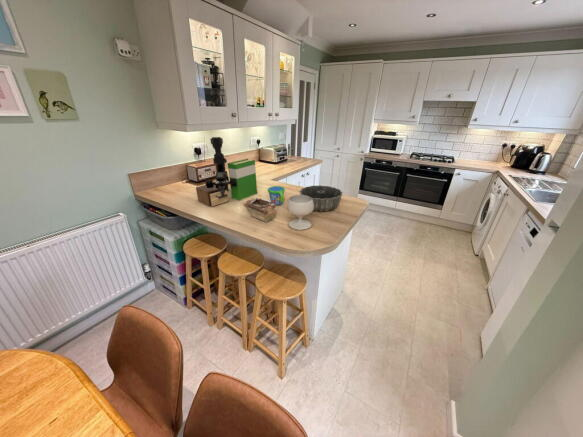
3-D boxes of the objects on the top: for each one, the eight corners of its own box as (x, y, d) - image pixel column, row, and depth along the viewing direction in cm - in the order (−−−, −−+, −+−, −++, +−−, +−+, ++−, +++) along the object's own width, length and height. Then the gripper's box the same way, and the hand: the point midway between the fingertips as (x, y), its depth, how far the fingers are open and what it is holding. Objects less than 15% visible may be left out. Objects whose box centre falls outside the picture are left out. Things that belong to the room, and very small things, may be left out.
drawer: (232, 202, 150) (230, 191, 147) (216, 208, 143) (214, 196, 139) (216, 196, 161) (215, 185, 158) (201, 200, 154) (199, 189, 150)
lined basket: (258, 227, 123) (257, 210, 118) (238, 215, 136) (236, 199, 131) (278, 219, 131) (277, 203, 126) (257, 209, 144) (255, 194, 139)
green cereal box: (249, 191, 174) (247, 158, 163) (257, 193, 170) (254, 160, 159) (231, 198, 161) (227, 163, 150) (239, 200, 157) (235, 164, 147)
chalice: (300, 216, 134) (300, 192, 127) (318, 225, 124) (320, 198, 118) (281, 224, 125) (281, 198, 118) (300, 234, 116) (300, 206, 109)
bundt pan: (309, 196, 164) (309, 182, 159) (346, 202, 153) (347, 188, 148) (292, 209, 143) (292, 194, 138) (333, 218, 132) (334, 202, 127)
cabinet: (226, 201, 156) (224, 187, 151) (209, 206, 147) (207, 192, 143) (214, 196, 164) (212, 182, 160) (198, 200, 156) (195, 187, 152)
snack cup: (265, 200, 156) (264, 186, 152) (279, 198, 160) (279, 184, 156) (273, 209, 144) (273, 193, 139) (289, 206, 148) (289, 190, 143)
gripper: (203, 167, 140) (204, 190, 134) (235, 165, 143) (237, 188, 138) (206, 177, 150) (207, 198, 145) (236, 175, 153) (238, 196, 148)
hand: (222, 195), depth 144 cm, fingers closed, pressing on drawer
